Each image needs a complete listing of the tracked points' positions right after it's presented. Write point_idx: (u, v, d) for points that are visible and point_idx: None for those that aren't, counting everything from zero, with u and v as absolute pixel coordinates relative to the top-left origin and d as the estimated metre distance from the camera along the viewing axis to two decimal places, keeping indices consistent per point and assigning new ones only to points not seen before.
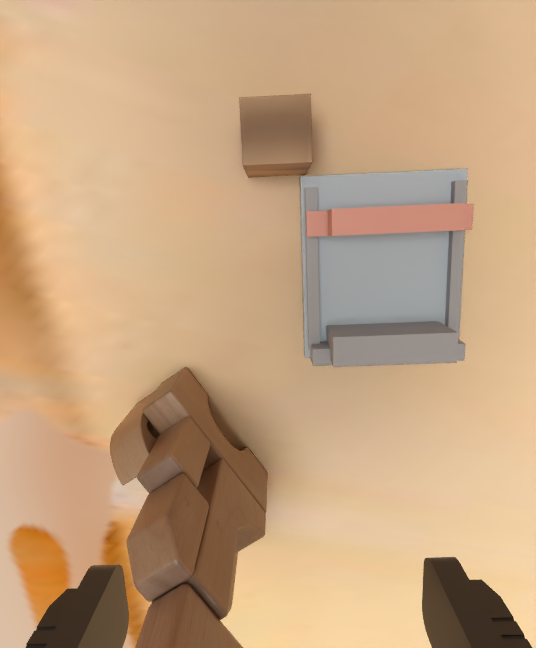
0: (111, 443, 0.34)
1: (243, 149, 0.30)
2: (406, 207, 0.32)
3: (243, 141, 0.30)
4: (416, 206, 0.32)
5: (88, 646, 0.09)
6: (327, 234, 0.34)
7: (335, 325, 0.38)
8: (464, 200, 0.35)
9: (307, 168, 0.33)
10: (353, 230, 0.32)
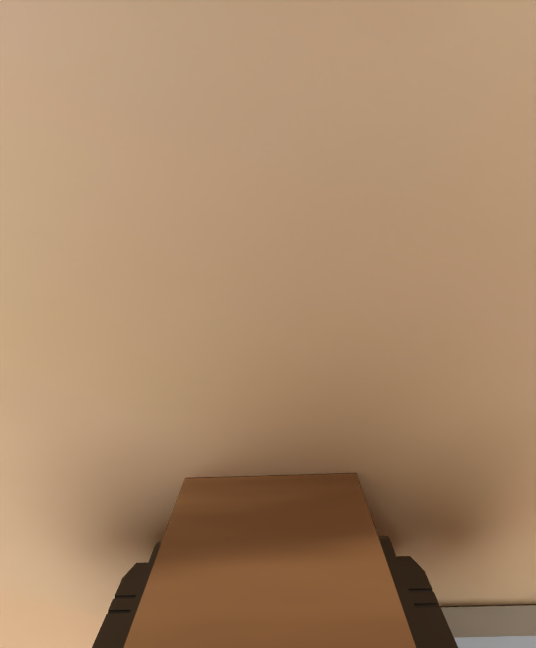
0: None
1: None
2: None
3: None
4: None
5: None
6: None
7: None
8: None
9: None
10: None
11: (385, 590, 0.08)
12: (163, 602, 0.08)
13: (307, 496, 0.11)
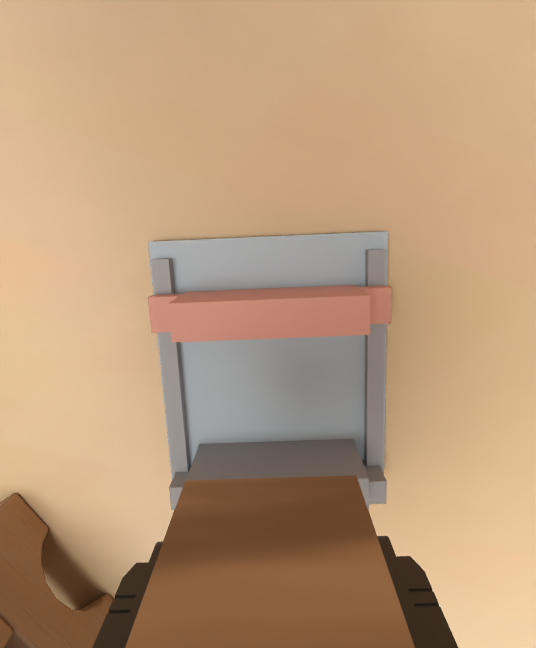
0: None
1: None
2: (281, 301, 0.21)
3: None
4: (296, 300, 0.21)
5: None
6: None
7: (210, 445, 0.27)
8: (382, 278, 0.24)
9: None
10: (203, 334, 0.21)
11: (385, 593, 0.08)
12: (163, 605, 0.08)
13: (307, 498, 0.11)
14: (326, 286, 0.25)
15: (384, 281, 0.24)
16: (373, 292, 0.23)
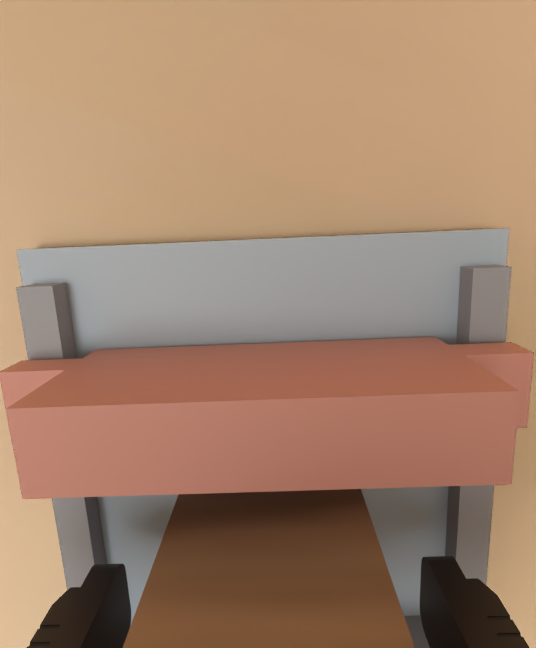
0: None
1: None
2: (290, 405, 0.08)
3: None
4: (329, 401, 0.08)
5: (91, 644, 0.09)
6: None
7: None
8: (500, 326, 0.12)
9: None
10: (99, 481, 0.09)
11: (371, 548, 0.09)
12: (175, 559, 0.09)
13: None
14: (380, 341, 0.12)
15: (503, 332, 0.12)
16: (492, 362, 0.10)
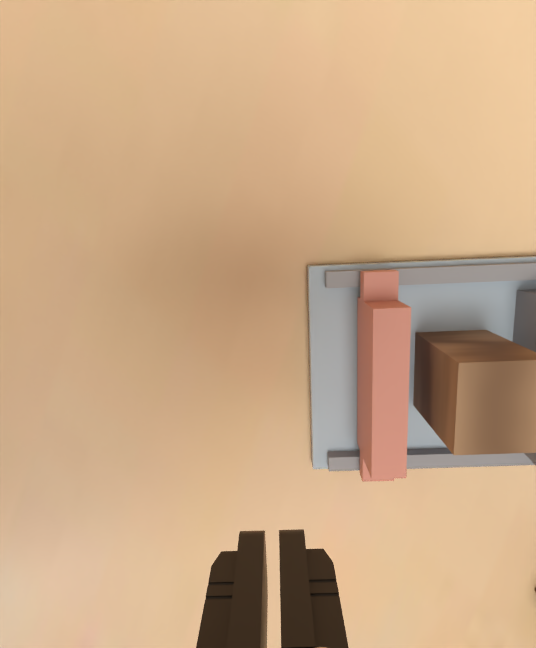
0: None
1: (521, 451, 0.22)
2: (375, 387, 0.23)
3: (510, 451, 0.22)
4: (374, 374, 0.23)
5: (262, 598, 0.10)
6: None
7: None
8: (353, 273, 0.26)
9: None
10: (400, 452, 0.24)
11: (439, 353, 0.23)
12: (437, 427, 0.24)
13: (420, 359, 0.26)
14: (358, 323, 0.27)
15: (356, 271, 0.26)
16: (367, 289, 0.24)
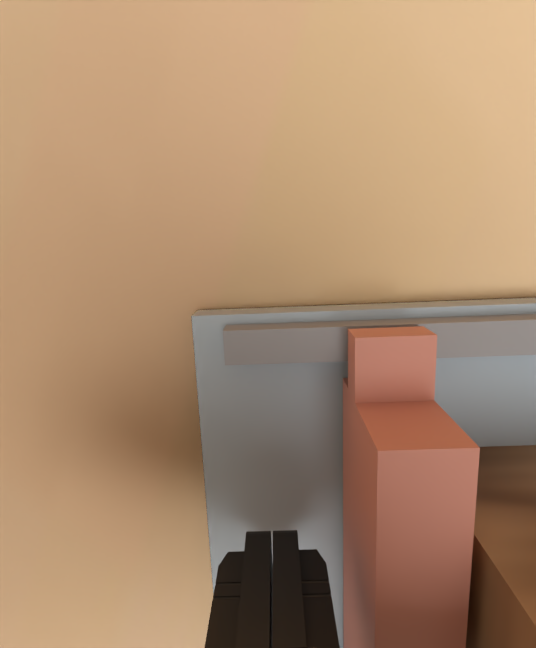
0: None
1: None
2: (381, 633, 0.09)
3: None
4: (379, 603, 0.09)
5: (270, 598, 0.10)
6: None
7: None
8: (281, 334, 0.12)
9: None
10: None
11: (478, 551, 0.09)
12: None
13: None
14: (344, 433, 0.13)
15: (288, 330, 0.12)
16: (363, 375, 0.11)
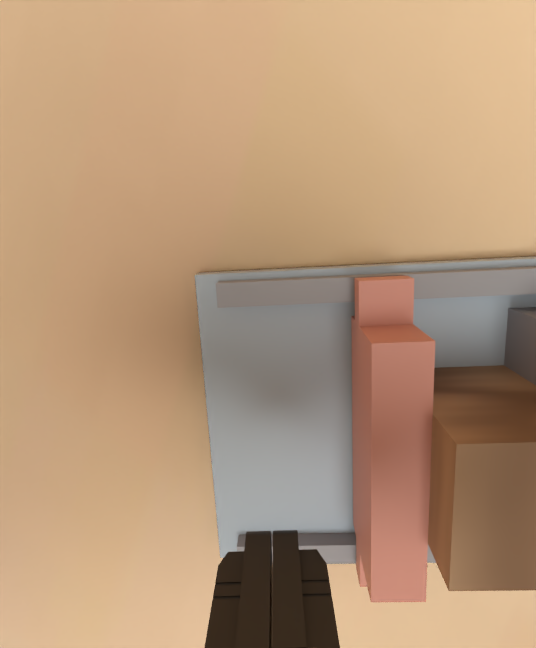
0: None
1: None
2: (375, 466, 0.14)
3: None
4: (374, 446, 0.14)
5: (270, 598, 0.10)
6: None
7: None
8: (255, 285, 0.17)
9: None
10: (417, 564, 0.15)
11: None
12: None
13: None
14: (352, 355, 0.18)
15: (260, 283, 0.17)
16: (364, 307, 0.16)
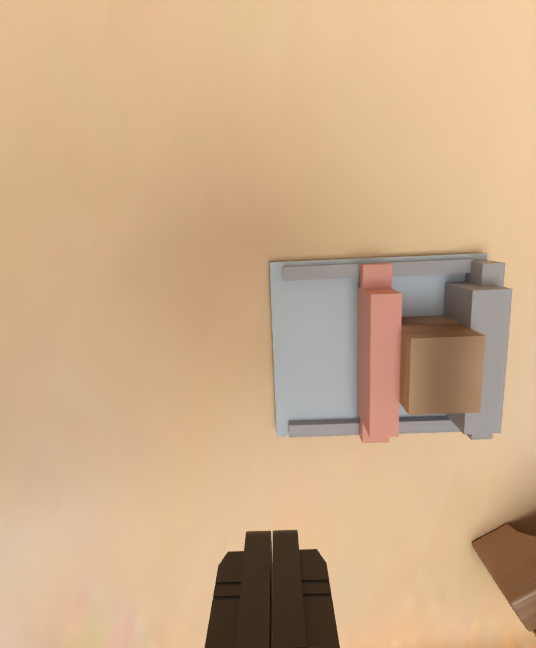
0: None
1: (463, 411, 0.27)
2: (372, 359, 0.28)
3: (454, 411, 0.27)
4: (371, 348, 0.28)
5: (270, 598, 0.10)
6: None
7: None
8: (305, 268, 0.31)
9: None
10: (394, 414, 0.29)
11: None
12: None
13: None
14: (358, 309, 0.31)
15: (308, 267, 0.30)
16: (366, 279, 0.29)
